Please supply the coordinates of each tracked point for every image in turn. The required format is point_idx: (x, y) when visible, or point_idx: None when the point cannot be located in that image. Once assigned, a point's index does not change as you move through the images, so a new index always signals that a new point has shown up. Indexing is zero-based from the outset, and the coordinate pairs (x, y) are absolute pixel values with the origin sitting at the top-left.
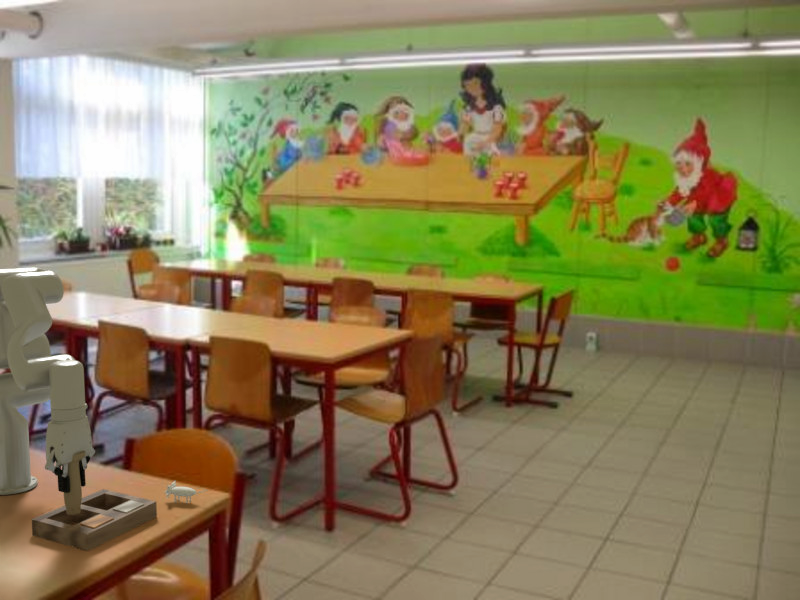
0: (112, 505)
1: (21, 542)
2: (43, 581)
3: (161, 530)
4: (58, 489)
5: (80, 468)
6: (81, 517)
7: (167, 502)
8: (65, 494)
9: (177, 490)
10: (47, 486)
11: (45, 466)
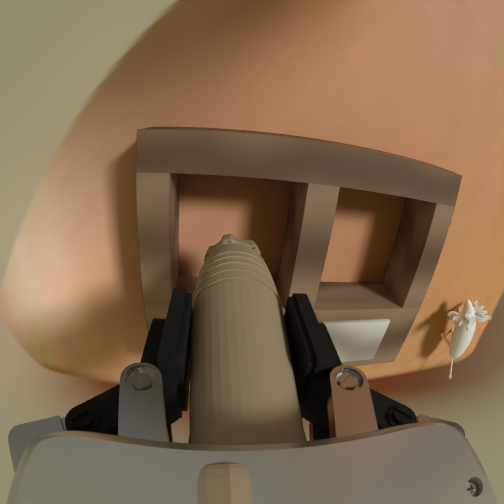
0: (409, 223)
1: (104, 141)
2: (42, 338)
3: None
4: (173, 289)
5: (305, 414)
6: (294, 213)
7: (448, 300)
8: (192, 305)
9: (460, 336)
10: None
11: (11, 443)
